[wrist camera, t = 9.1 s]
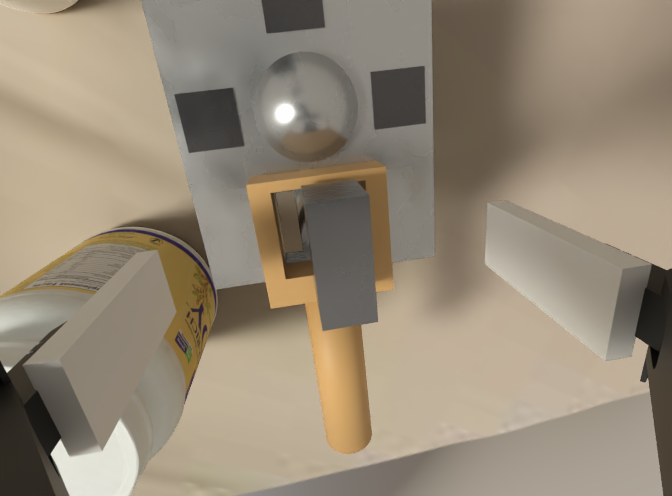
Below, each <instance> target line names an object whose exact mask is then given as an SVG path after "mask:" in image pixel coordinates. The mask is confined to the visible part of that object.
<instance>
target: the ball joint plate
mask: <svg viewBox="0 0 672 496" xmlns="http://www.w3.org/2000/svg"><path fill="white" fill-rule="evenodd" d="M141 2H142V6H143V10H144V13H145V17H146V21H147V25H148V29H149V33H150V37H151V41H152V44H153V48H154V52H155V56H156V60H157V64H158V68H159V72H160V76H161V79H162V83H163V87H164V91H165V95H166V99H167V103H168V107H169V111H170V114H171V118H172V122H173V126H174V130H175V134H176V138H177V142H178V145H179V149H180V153H181V157H182V161H183V165H184V169H185V173H186V177H187V180H188V184H189V188H190V192H191V196H192V200H193V204H194V208H195V212H196V215H197V219H198V223H199V227H200V231H201V235H202V239H203V243H204V247H205V250H206V254H207V258H208V262H209V266H210V270H211V274H212V278H213V281H214V285H215V289H222V288H229V287H236V286H242V285H249V284H255V283H262V282H265V277H264V272H263V267H262V262H261V257H260V252H259V247H258V242H257V237H256V232H255V227H254V222H253V218H252V213H251V208H250V203H249V198H248V193H247V188H246V184H247V182H248V180H249V178H250V177H254V176H262V175H269V174H277V173H284V172H292V171H300V170H307V169H315V168H322V167H330V166H338V165H345V164H353V163H360V162H368V161H376V160H377V161H378V162H380V163H381V164H383V165H385V166H386V174H387V191H388V208H389V224H390V241H391V258H392V263H393V262H400V261H406V260H413V259H420V258H426V257H433V256H435V224H434V150H433V76H432V3H431V0H141ZM357 182H358V183H359V181H357ZM289 191H292V190H289ZM281 192H285V191H281ZM276 193H277V192H274V199H275V204H276V210H277V216H278V222H279V227H280V233H281V239H282V245H283V250H284V256H285V262H286V264H287V263H294V262H301V261H308V260H309V259H308V257H307V256H306V254H305V252H304V251H300V252H293V253H287V254H286V251H285V245H284V240H283V234H282V228H281V222H280V216H279V211H278V205H277V199H276Z"/></svg>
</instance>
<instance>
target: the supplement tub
mask: <svg viewBox="0 0 672 496" xmlns="http://www.w3.org/2000/svg"><path fill="white" fill-rule="evenodd" d="M152 250H158V253H159V256H160V260H161V263H162V266H163V269H164V273H165V276H166V279H167V282H168V286H169V289H170V292H171V295H172V299H173V302H174V305H175V308H176V314H175V316H174V318H173V320H172V322H171V323H170V325H169V327H168V329H167V331H166V333H165V335H164V337H163V339H162V340H161V342H160V344H159V346H158V348H157V350H156V352H155V354H154V355H153V357H152V359H151V361H150V363H149V365H148V367H147V369H146V370H145V372H144V374H143V376H142V378H141V380H140V382H139V384H138V385H137V387H136V389H135V391H134V393H133V395H132V397H131V399H130V401H129V402H128V404H127V406H126V408H125V410H124V412H123V414H122V416H121V417H120V419H119V421H118V423H117V425H116V427H115V429H114V431H113V432H112V434H111V436H110V438H109V440H108V442H107V444H106V446H105V447H104V449H103V451H102V452H97V453H91V454H86V455H80V456H74V457H69V455H68V453H67V451H66V449H65V447H64V445H63V443H62V441H61V439H60V441H59V442H58V444H57V445H56V446H55V448H54V449H53V451H52V452H51V456H52V458H53V459H54V461H55V463H56V465H57V467H58V470H59V472H60V475H61V477H62V479H63V482H64V484H65V486H66V489H67V491H68V493H69V496H129V495H130V494H131V492H132V490H133V488H134V486H135V484H136V482H137V480H138V477H139V476H140V475H141V473H142V472H143V470H144V469H145V467H146V465H147V463H148V461H149V460H150V459H151V458H152V457H153V456H155V455H156V454H157V453H158V452H159V451H160V450H161V448H162V447H163V446H164V445H165V444H166V442H167V441H168V439H169V438H170V436H171V435H172V433H173V432H174V429H175V428H176V426H177V424H178V422H179V420H180V417H181V415H182V412H183V408H184V404H185V401H186V398H187V395H188V392H189V390H190V387H191V384H192V381H193V378H194V376H195V373H196V370H197V367H198V364H199V361H200V358H201V355H202V353H203V350H204V347H205V344H206V341H207V338H208V335H209V332H210V330H211V327H212V324H213V322H214V320H215V317H216V313H217V306H218V297H217V289H215V285H214V281H213V278H212V274H211V271H210V269H209V267H208V266H207V264H206V262H205V261H204V260H203V259H202V257H201V256H200V255H199V254H198V253H197V252H196V251H195V250H194V249H193V248H192V247H191V246H189V245H188V244H187V243H185V242H184V241H182V240H180V239H179V238H177V237H175V236H173V235H170V234H168V233H165V232H162V231H159V230H155V229H151V228H144V227H121V228H115V229H110V230H106V231H103V232H100V233H98V234H95V235H93V236H91V237H89V238H88V239H86V240H84V241H83V242H82V243H80V244H79V245H78V246H76V247H75V248H73V249H71V250H70V251H68V252H67V253H65V254H64V255H62V256H61V257H59V258H58V259H56V260H55V261H53V262H52V263H50V264H49V265H47V266H46V267H44V268H43V269H41V270H39V271H38V272H36V273H35V274H33V275H32V276H30V277H29V278H27V279H26V280H24V281H23V282H21V283H20V284H18V285H16V286H15V287H13V288H12V289H10V290H9V291H7V292H6V293H4V294H3V295H1V296H0V361H1V363H2V365H3V367H4V368H5V370H6V372H8V371H10V370H11V369H12V368H13V367H14V366H15V365H16V364H17V363H18V362H19V361H20V360H21V359H22V358H23V357H24V356H25V355H26V354H29V351H30V350H31V349H32V348H34V347H35V346H36V345H38V344H39V342H40V341H41V340H42V339H43V338H44V337H45V336H46V335H47V334H48V333H49V332H50V331H52V330H53V329H55V328H56V327H58V326H60V325H61V324H63V323H64V322H66V321H68V320H69V319H70V318H71V317H72V316H73V315H74V314H75V313H76V312H77V311H78V310H79V309H80V308H81V307H82V306H83V305H84V304H85V303H86V302H87V301H88V300H89V299H90V298H91V297H92V296H93V295H94V294H95V293H96V292H97V291H98V290H99V289H100V288H101V287H102V286H103V285H104V284H106V283H107V282H108V281H109V280H110V279H111V278H112V277H113V276H114V275H115V274H116V273H117V272H118V271H119V270H120V269H121V268H122V267H123V266H124V265H125V264H126V263H127V262H128V261H129V260H130V259H131V258H132V257H133V256H134V255H135V254H136V253H138V252H145V251H152Z"/></svg>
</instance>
